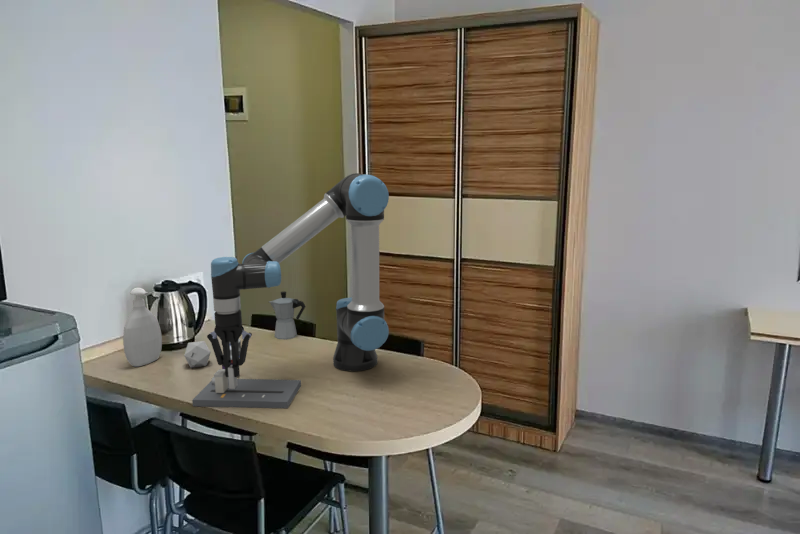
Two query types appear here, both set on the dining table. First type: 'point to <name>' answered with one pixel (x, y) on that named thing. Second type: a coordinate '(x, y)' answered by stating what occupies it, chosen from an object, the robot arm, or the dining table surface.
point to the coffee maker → (286, 316)
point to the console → (250, 394)
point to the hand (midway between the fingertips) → (233, 386)
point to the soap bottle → (141, 333)
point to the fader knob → (221, 381)
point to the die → (197, 354)
